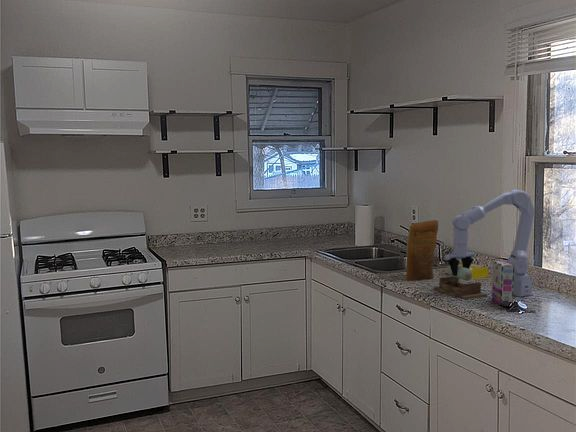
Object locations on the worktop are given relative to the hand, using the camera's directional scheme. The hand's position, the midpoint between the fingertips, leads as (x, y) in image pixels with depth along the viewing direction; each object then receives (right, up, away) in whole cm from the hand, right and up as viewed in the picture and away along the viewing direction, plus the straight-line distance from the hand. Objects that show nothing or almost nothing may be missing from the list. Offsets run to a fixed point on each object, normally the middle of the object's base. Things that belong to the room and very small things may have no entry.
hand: (459, 274), depth 246 cm
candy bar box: (+12, -10, -17) cm, 23 cm away
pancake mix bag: (-10, -5, +28) cm, 30 cm away
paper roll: (0, +1, 0) cm, 1 cm away
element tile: (+15, -4, +36) cm, 40 cm away
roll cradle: (0, -8, +1) cm, 8 cm away
